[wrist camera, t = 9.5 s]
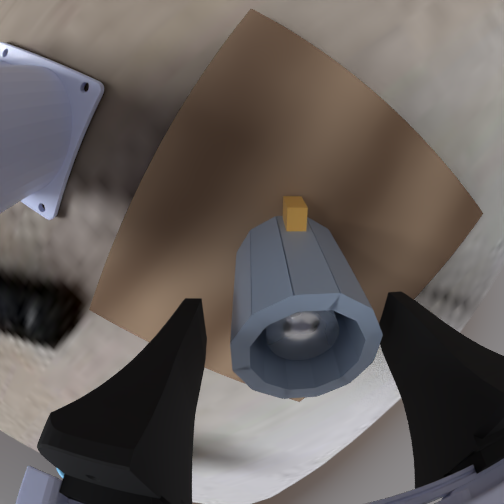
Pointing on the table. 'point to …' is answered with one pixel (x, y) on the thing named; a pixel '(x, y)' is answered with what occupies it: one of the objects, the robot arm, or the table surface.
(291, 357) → the silver metal canister
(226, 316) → the walnut board
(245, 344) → the collar
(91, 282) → the table surface
